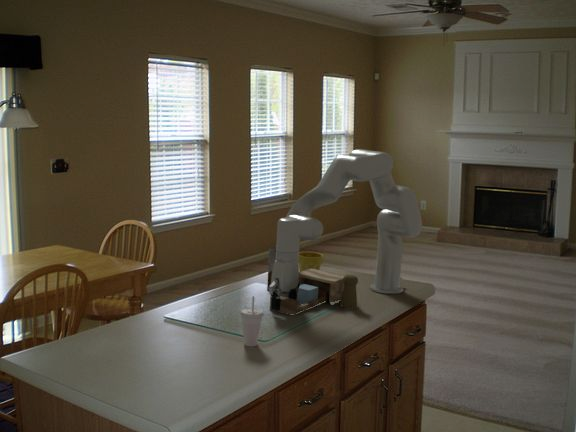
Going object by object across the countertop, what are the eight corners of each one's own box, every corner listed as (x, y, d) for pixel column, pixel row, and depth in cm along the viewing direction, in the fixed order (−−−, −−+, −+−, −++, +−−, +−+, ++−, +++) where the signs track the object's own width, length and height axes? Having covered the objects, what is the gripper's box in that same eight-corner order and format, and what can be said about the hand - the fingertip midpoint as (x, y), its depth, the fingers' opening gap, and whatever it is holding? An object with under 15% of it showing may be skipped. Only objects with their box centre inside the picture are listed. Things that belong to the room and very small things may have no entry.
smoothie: (241, 348, 181) (244, 299, 179) (237, 340, 187) (239, 293, 185) (264, 347, 183) (266, 299, 181) (259, 339, 189) (261, 292, 187)
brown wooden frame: (303, 297, 236) (304, 285, 235) (326, 302, 231) (327, 290, 230) (269, 309, 218) (270, 296, 218) (293, 315, 213) (294, 302, 213)
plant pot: (319, 282, 258) (320, 258, 257) (293, 279, 260) (294, 255, 259) (323, 276, 268) (325, 253, 267) (299, 273, 270) (300, 250, 269)
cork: (357, 304, 231) (359, 274, 229) (357, 309, 225) (359, 278, 223) (339, 303, 231) (342, 272, 230) (339, 308, 225) (341, 276, 224)
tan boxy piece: (309, 290, 245) (311, 268, 244) (347, 299, 237) (349, 276, 235) (294, 296, 237) (295, 273, 235) (332, 305, 228) (334, 281, 227)
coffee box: (294, 289, 246) (297, 247, 244) (290, 293, 240) (292, 250, 238) (271, 286, 248) (273, 244, 246) (266, 290, 242) (268, 247, 240)
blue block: (302, 300, 232) (303, 283, 231) (317, 303, 229) (318, 287, 228) (293, 303, 227) (294, 287, 226) (308, 307, 224) (309, 290, 223)
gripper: (292, 250, 223) (289, 299, 226) (262, 257, 209) (259, 309, 212) (310, 254, 219) (307, 303, 222) (281, 261, 205) (278, 314, 208)
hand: (284, 306), depth 217 cm, fingers open, 9 cm apart
